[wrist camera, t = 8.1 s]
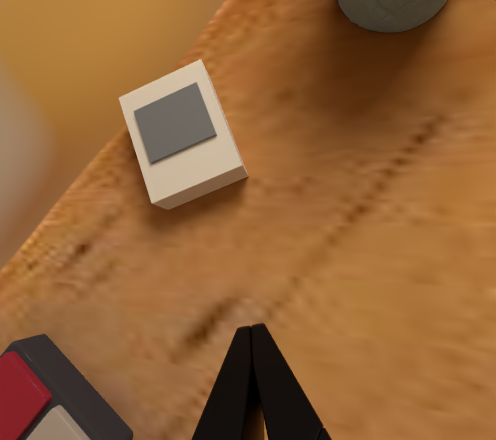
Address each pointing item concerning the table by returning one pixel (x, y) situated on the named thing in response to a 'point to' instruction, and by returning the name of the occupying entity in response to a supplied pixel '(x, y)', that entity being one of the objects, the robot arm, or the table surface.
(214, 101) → the white box grey panel
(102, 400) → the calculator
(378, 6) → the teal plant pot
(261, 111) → the table surface
